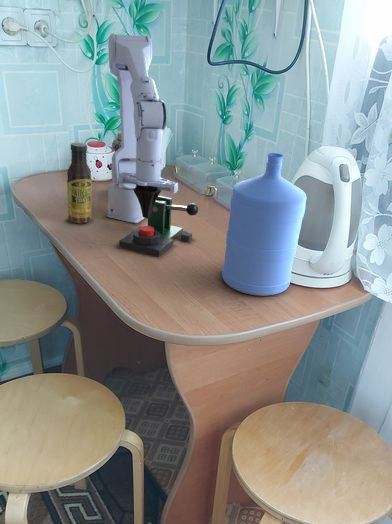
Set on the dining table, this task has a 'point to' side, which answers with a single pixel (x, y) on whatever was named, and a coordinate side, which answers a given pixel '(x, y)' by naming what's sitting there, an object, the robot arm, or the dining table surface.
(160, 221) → the rod bracket
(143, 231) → the button
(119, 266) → the dining table surface
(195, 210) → the rod
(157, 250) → the button box
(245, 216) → the water jug
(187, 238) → the block
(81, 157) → the sauce bottle
